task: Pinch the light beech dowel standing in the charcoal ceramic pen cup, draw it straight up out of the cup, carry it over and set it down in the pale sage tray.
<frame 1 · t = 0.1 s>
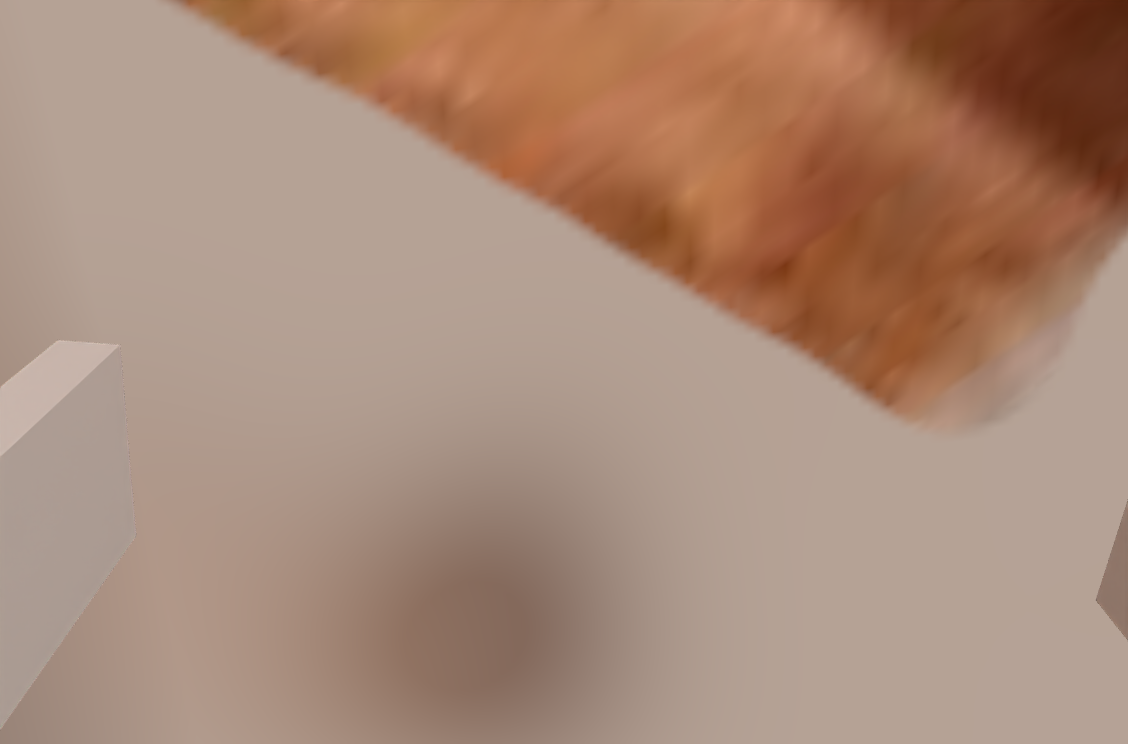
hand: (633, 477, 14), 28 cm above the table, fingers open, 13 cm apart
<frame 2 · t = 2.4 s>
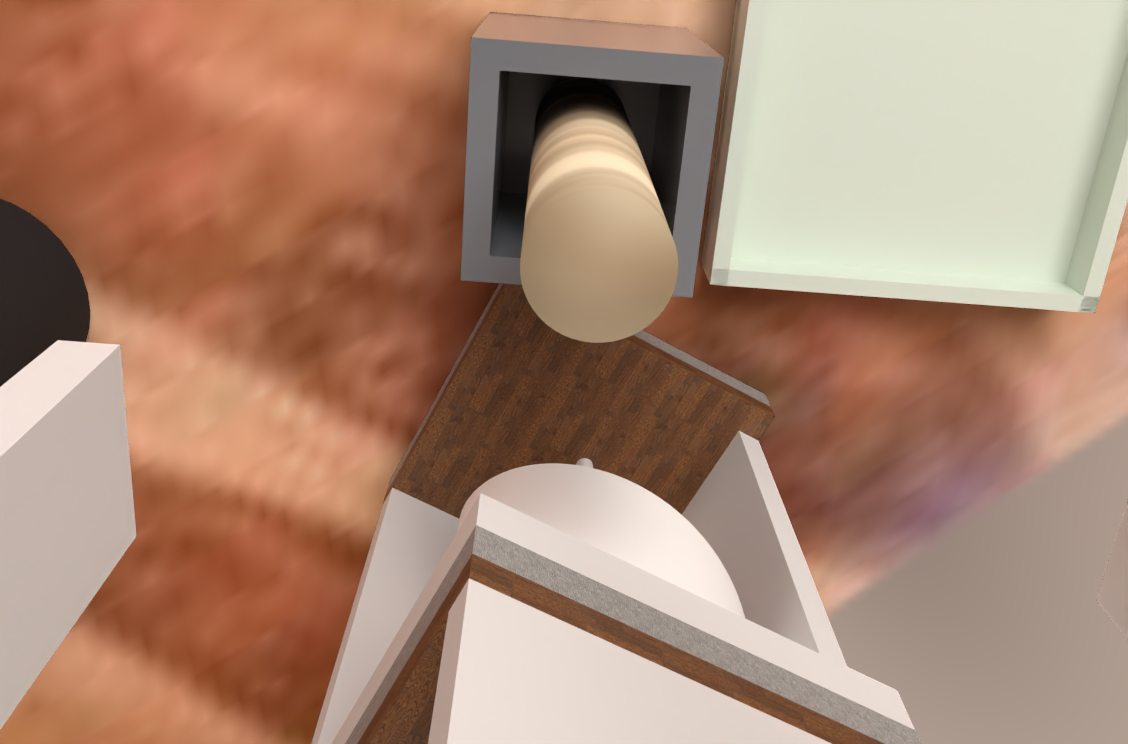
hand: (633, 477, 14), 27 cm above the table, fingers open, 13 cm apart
pen cup: (580, 119, 38), on the table
white coffee maker: (574, 435, 43), on the table
dowel: (581, 124, 37), point 1 cm above the table, touching pen cup
tray: (934, 30, 37), on the table
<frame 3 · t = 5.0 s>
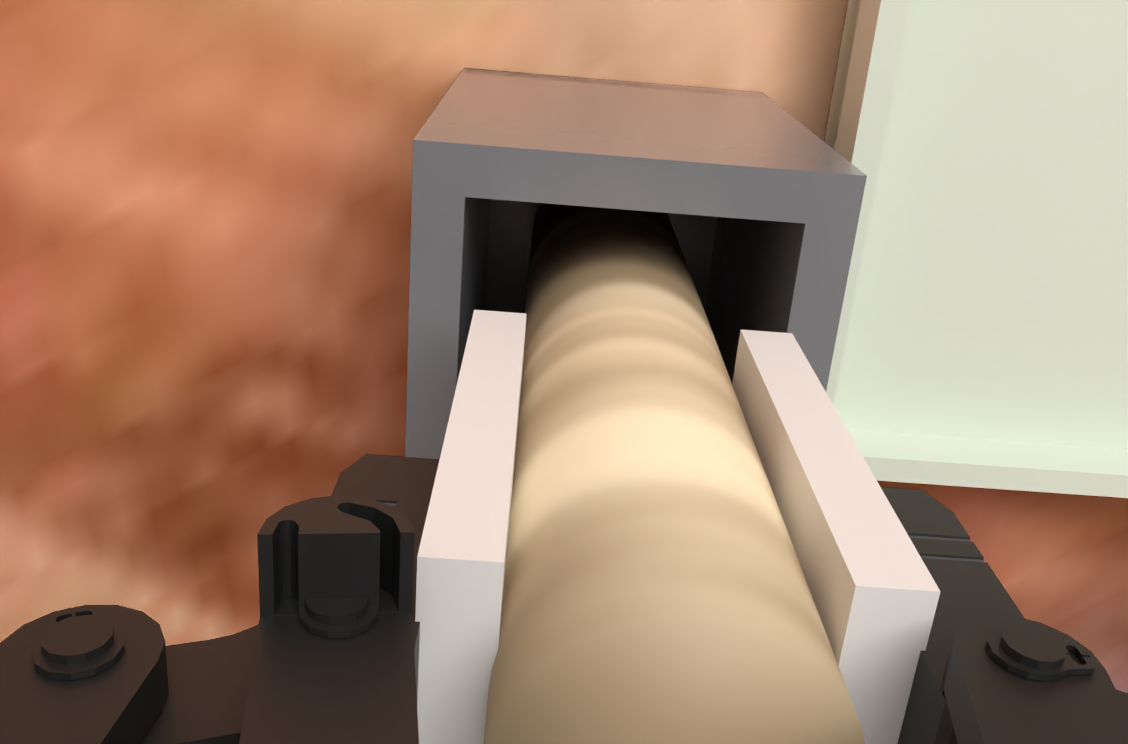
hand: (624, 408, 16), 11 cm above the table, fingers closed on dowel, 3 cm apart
pen cup: (600, 226, 26), on the table
dowel: (601, 237, 25), point 1 cm above the table, touching gripper, pen cup
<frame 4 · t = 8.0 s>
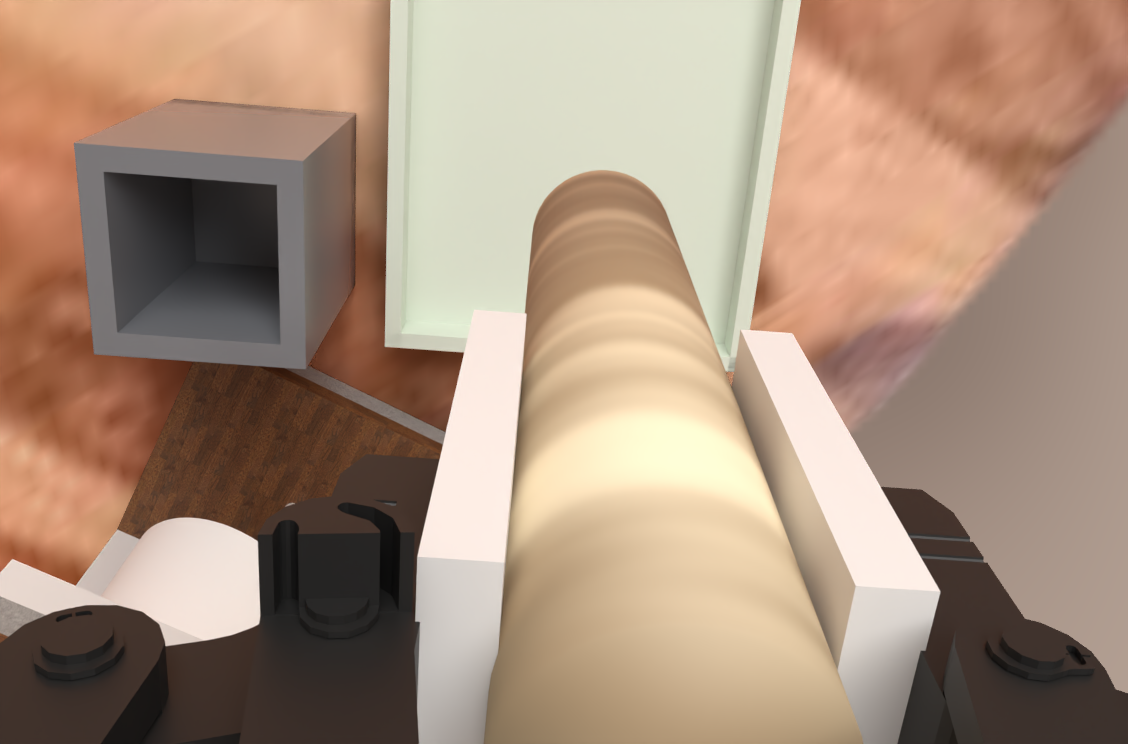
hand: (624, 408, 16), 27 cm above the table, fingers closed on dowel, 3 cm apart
pen cup: (267, 194, 42), on the table
white coffee maker: (296, 480, 47), on the table
dowel: (601, 239, 25), point 17 cm above the table, touching gripper
tray: (583, 115, 40), on the table
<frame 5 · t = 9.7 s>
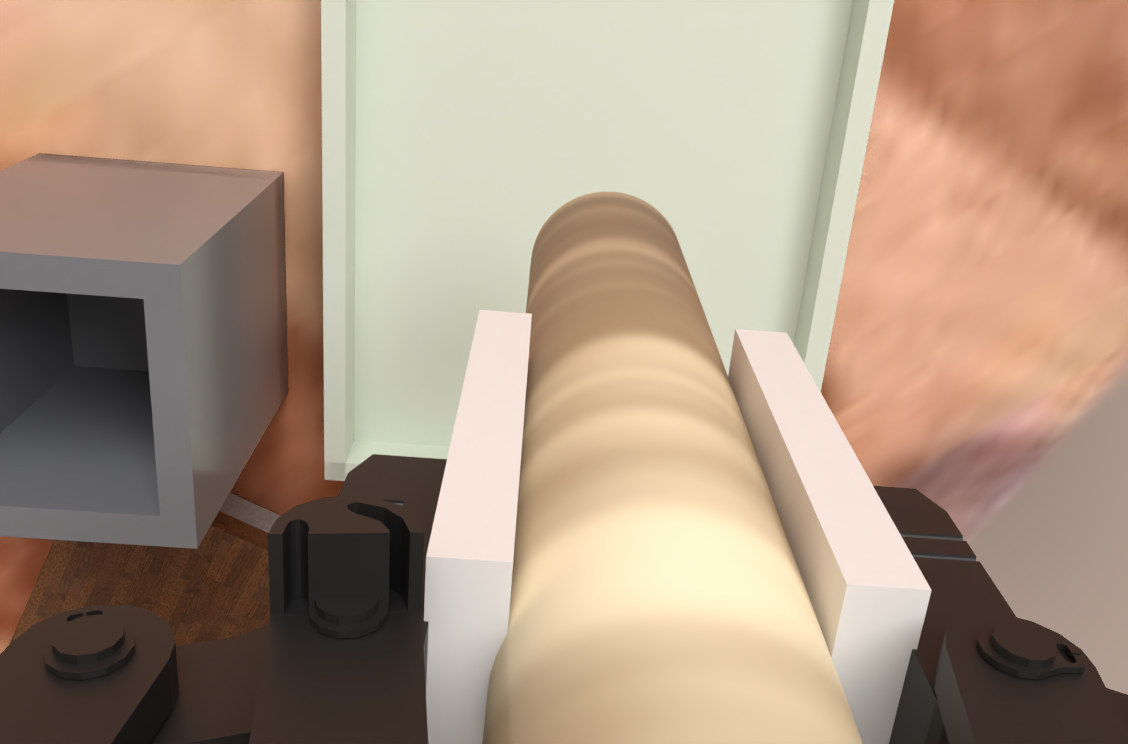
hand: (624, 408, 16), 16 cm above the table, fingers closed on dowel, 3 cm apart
pen cup: (169, 277, 31), on the table
white coffee maker: (219, 631, 36), on the table
dowel: (606, 265, 23), point 8 cm above the table, touching gripper
tray: (587, 174, 30), on the table
when the fingers open (12 cm above the table, at t = 11.2 s): dowel drops 3 cm, resting on tray.
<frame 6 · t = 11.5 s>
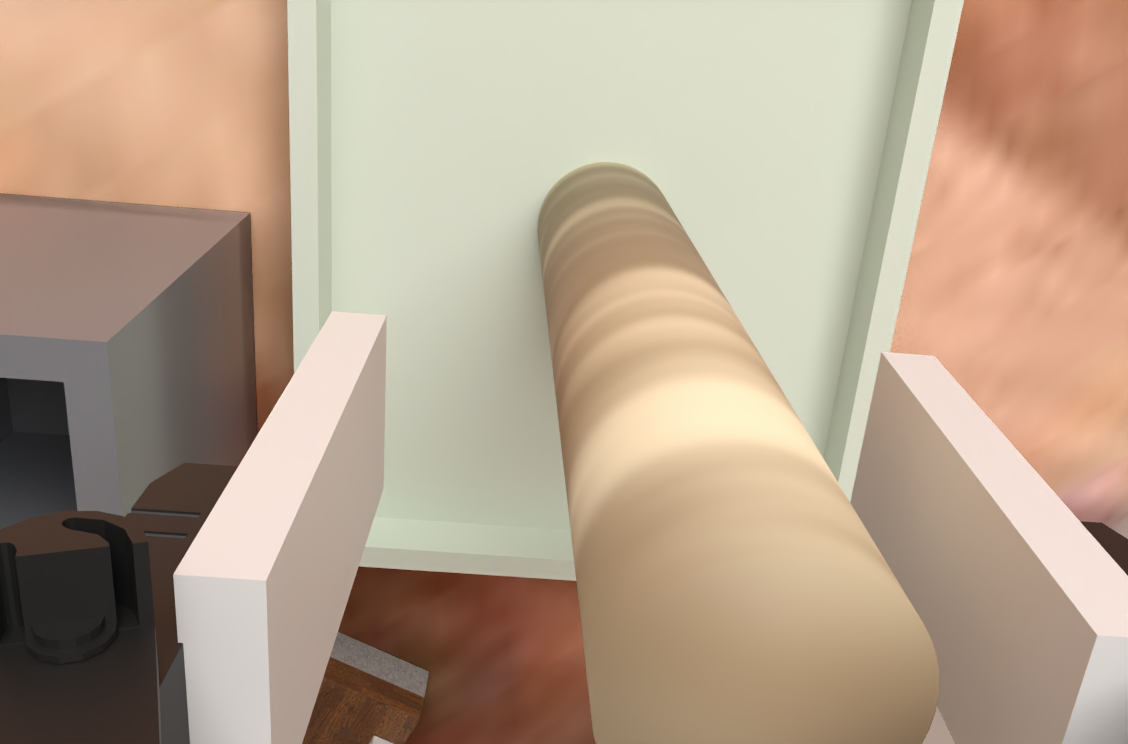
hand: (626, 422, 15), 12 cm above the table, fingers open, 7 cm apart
pen cup: (121, 331, 28), on the table
white coffee maker: (185, 718, 33), on the table
dowel: (604, 228, 25), point 1 cm above the table, touching tray
tray: (598, 215, 26), on the table
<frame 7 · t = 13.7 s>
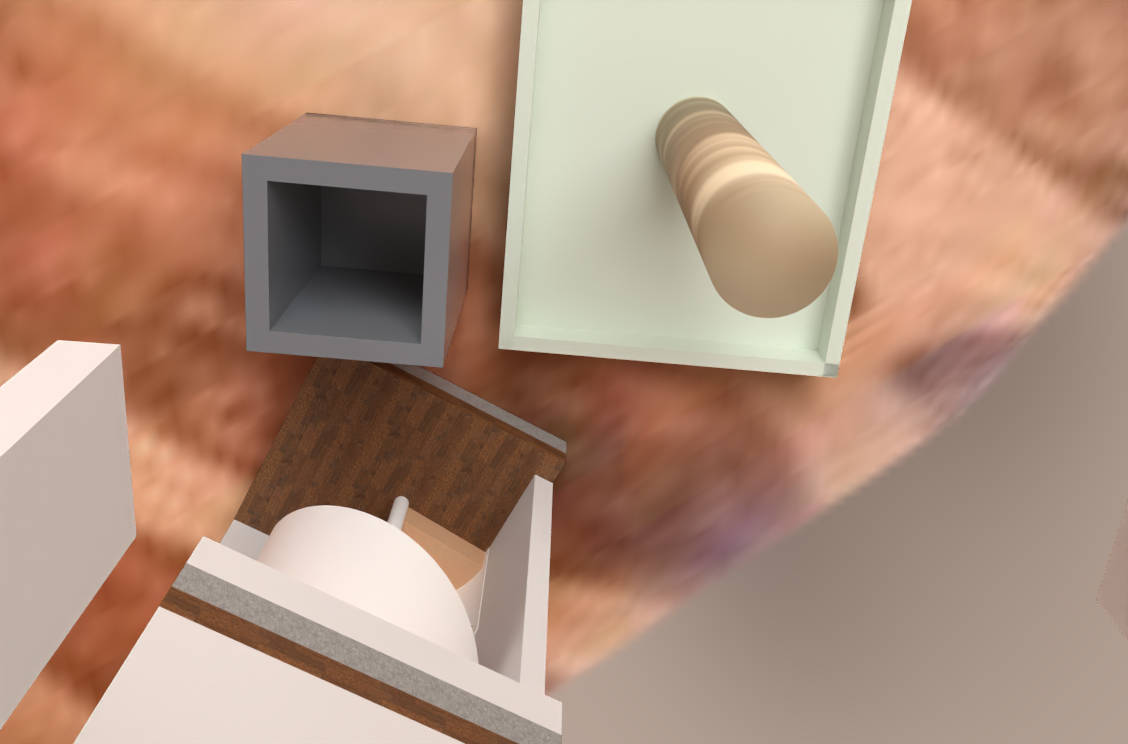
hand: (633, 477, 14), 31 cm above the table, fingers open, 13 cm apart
pen cup: (389, 203, 44), on the table
white coffee maker: (401, 475, 49), on the table
dowel: (696, 138, 42), point 1 cm above the table, touching tray
tray: (691, 132, 43), on the table
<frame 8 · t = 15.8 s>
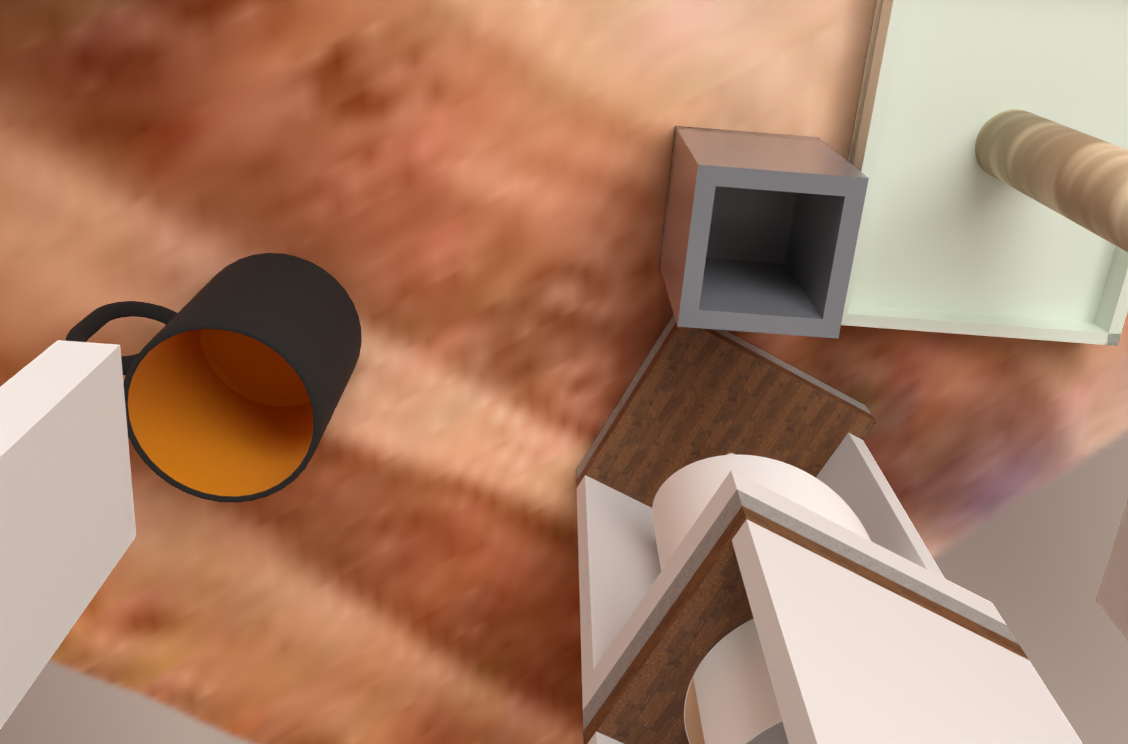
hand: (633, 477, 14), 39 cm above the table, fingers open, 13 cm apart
pen cup: (736, 202, 52), on the table
white coffee maker: (718, 436, 57), on the table
dowel: (1009, 144, 50), point 1 cm above the table, touching tray
mug: (245, 319, 54), on the table
tray: (999, 139, 51), on the table
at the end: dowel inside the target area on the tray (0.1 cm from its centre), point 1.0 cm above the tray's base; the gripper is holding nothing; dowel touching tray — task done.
